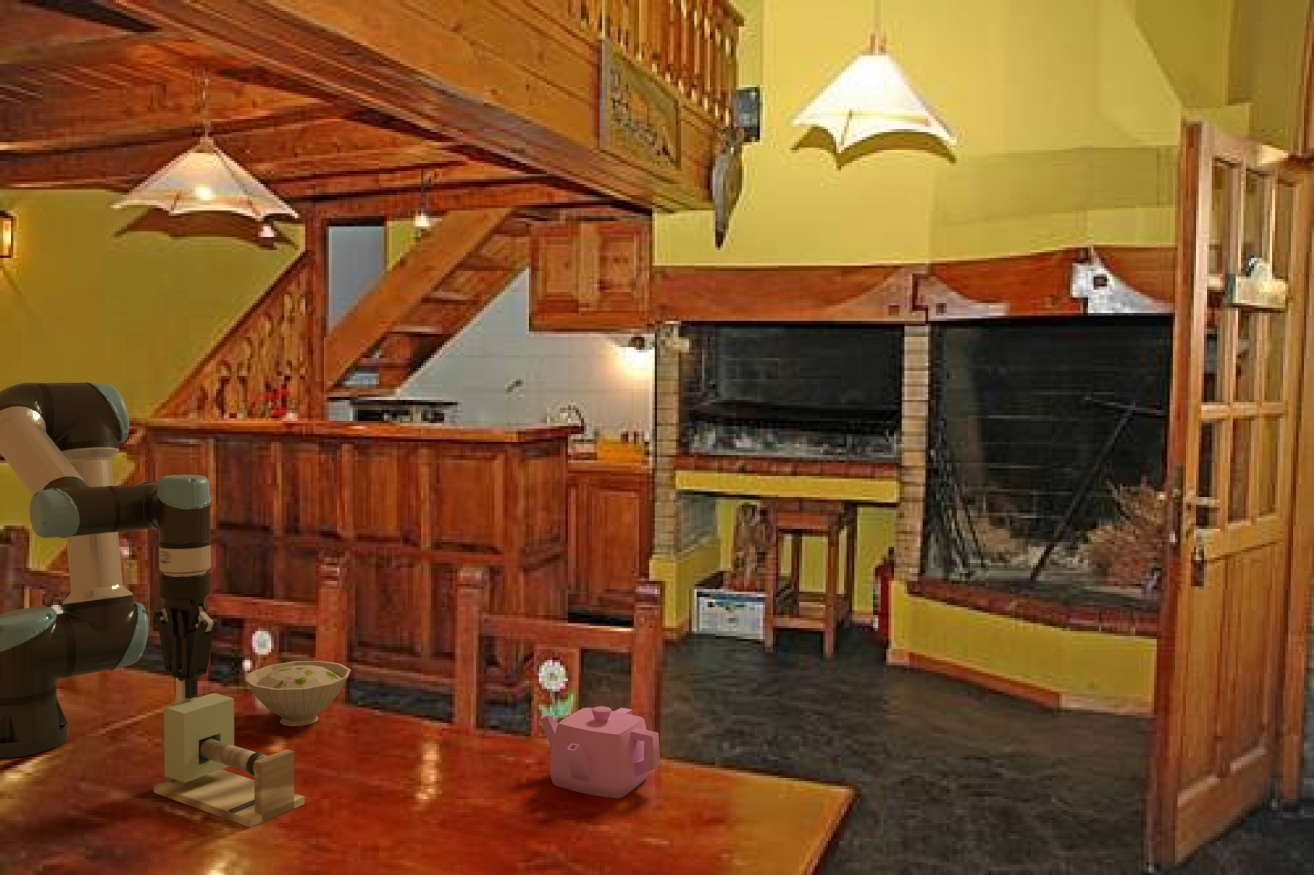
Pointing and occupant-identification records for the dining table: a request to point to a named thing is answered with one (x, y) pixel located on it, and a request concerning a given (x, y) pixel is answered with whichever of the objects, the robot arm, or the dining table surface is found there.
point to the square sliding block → (196, 734)
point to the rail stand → (239, 785)
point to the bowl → (298, 688)
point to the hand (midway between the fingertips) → (186, 716)
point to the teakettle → (601, 751)
